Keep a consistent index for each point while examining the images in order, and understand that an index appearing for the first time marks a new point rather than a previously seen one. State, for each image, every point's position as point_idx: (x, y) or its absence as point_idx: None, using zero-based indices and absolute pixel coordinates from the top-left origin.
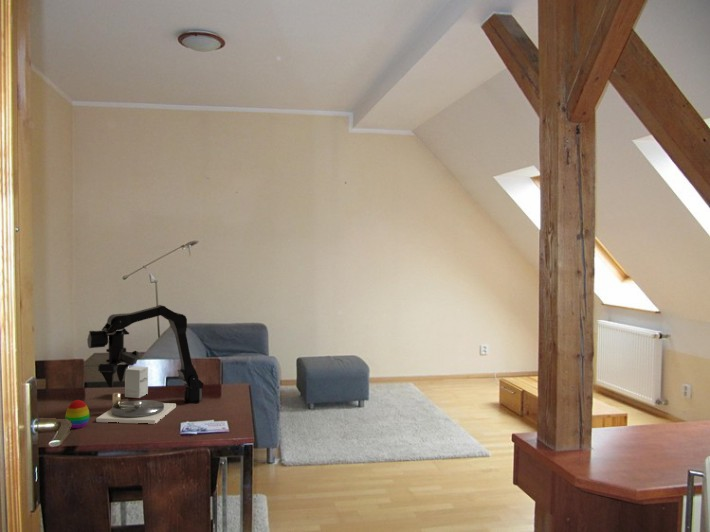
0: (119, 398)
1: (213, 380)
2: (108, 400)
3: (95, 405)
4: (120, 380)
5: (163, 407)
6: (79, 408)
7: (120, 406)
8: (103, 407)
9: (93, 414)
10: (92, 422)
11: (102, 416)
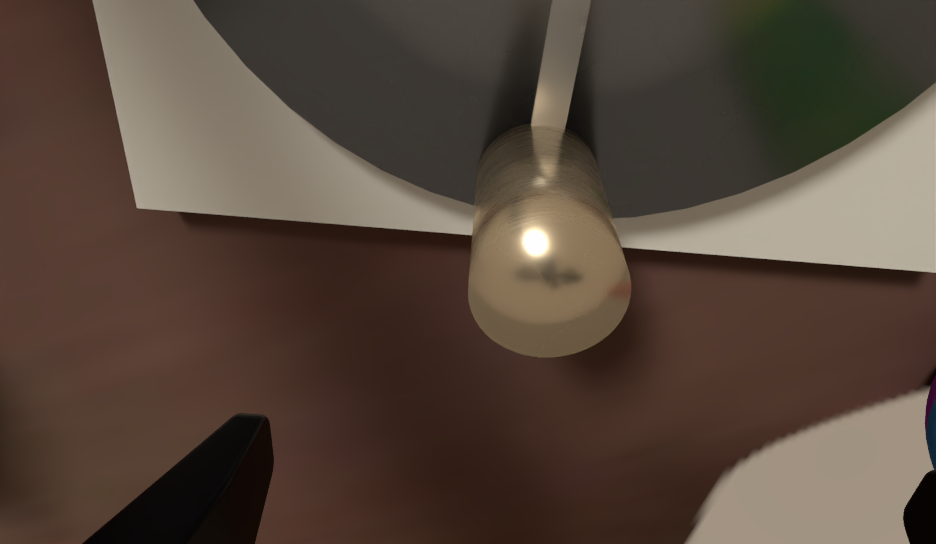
0: (578, 186)
1: None
2: (27, 393)
3: None
4: (262, 472)
5: None
6: None
7: (573, 109)
8: (297, 358)
9: (575, 366)
10: (909, 281)
11: (873, 227)
